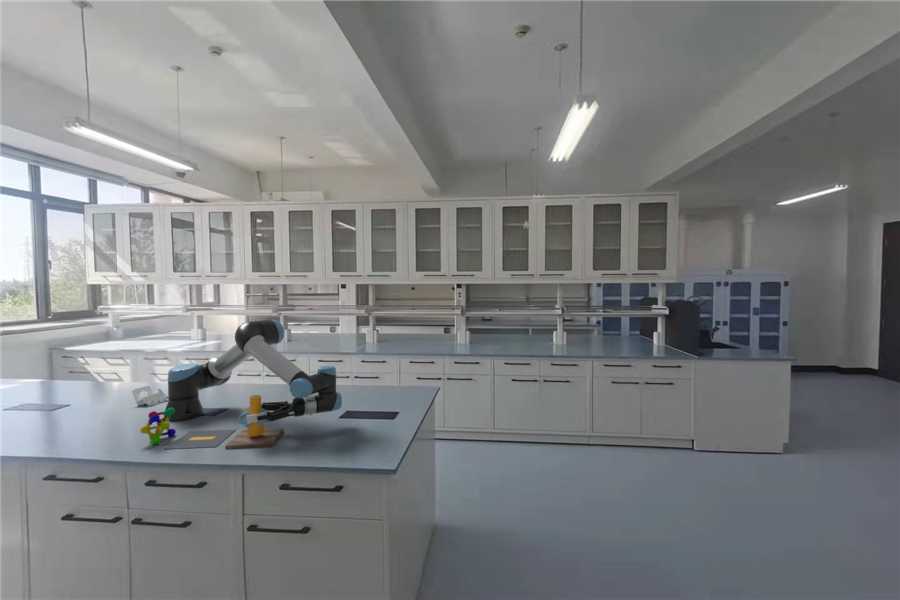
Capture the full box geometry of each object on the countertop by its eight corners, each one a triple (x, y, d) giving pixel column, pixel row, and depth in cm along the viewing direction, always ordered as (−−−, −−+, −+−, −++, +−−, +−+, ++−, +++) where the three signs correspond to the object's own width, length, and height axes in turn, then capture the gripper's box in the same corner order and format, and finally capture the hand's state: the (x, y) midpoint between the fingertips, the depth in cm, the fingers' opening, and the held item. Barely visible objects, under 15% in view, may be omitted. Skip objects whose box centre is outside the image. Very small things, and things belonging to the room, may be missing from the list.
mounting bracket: (160, 403, 207) (153, 384, 208) (169, 399, 206) (162, 380, 206) (138, 410, 195) (131, 390, 196) (148, 405, 194) (140, 385, 195)
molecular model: (157, 445, 146) (157, 415, 146) (138, 445, 146) (138, 414, 146) (178, 435, 158) (178, 406, 158) (161, 435, 158) (161, 406, 158)
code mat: (189, 431, 161) (189, 431, 161) (235, 429, 163) (235, 429, 163) (163, 449, 143) (163, 448, 143) (216, 447, 146) (216, 446, 146)
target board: (242, 433, 160) (242, 430, 160) (283, 431, 162) (283, 428, 162) (225, 448, 144) (225, 445, 144) (271, 446, 146) (271, 443, 146)
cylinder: (257, 441, 146) (256, 401, 146) (232, 438, 148) (232, 399, 148) (277, 429, 158) (277, 392, 158) (255, 427, 160) (254, 391, 160)
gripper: (310, 423, 153) (248, 434, 141) (297, 407, 173) (242, 415, 161) (310, 404, 153) (248, 413, 141) (297, 390, 173) (242, 397, 161)
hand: (245, 414), depth 151 cm, fingers closed on cylinder, 12 cm apart
